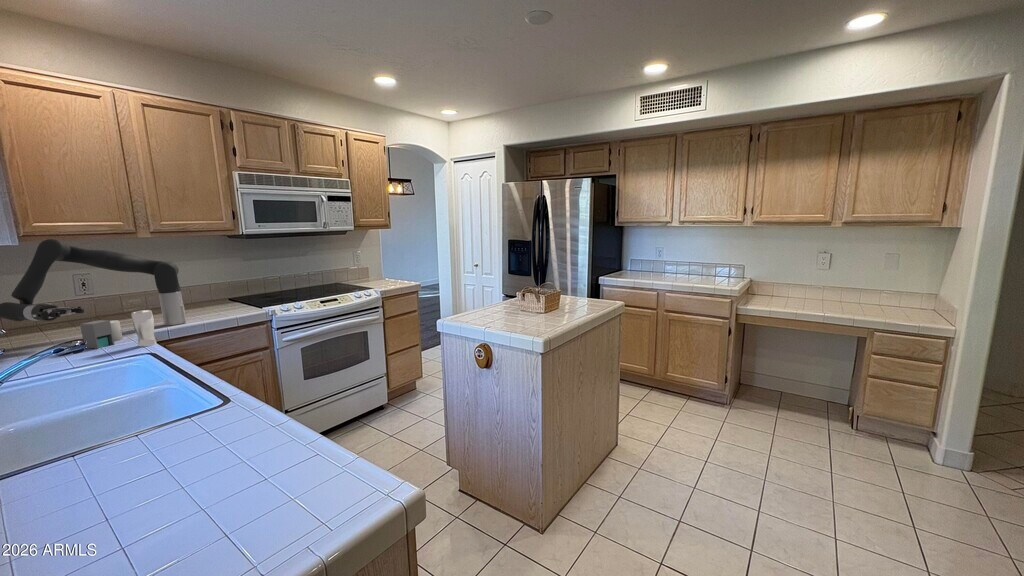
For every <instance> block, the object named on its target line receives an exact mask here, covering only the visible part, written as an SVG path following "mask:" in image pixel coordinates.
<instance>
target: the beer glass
mask: <svg viewBox="0 0 1024 576" xmlns="http://www.w3.org/2000/svg"><path fill="white" fill-rule="evenodd" d="M153 315H154V314H153V310H151V309H143V310H136V311H132V312H131V322H132V326H133V329H134V331H135V334H136V336H137V339H138V340H137V341H138V342H137V344H138V345H137V346H138V347H140V348H142V347H143V348H144V347H151V346H154V345H156V344H157V339H156V338H155V319H154V316H153Z"/></svg>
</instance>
